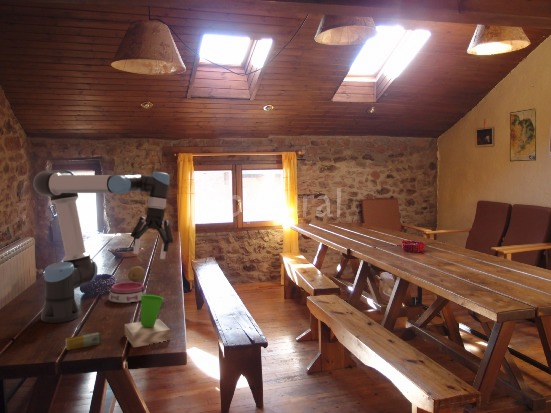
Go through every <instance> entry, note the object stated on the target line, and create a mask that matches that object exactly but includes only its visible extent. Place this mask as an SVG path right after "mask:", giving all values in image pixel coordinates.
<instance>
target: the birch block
mask: <svg viewBox="0 0 551 413" xmlns="http://www.w3.org/2000/svg"><path fill="white" fill-rule="evenodd" d="M125 335H126V336H125ZM124 336H125V338H126V337H127V338H128V339H127V338H126V339H127V340H128V342H129V343H130V345H131V347H133V348H137V347H138V348H139V347H145V346H149V344H150V345H154V344H153V343H155V344H159V342H161V343H164V342H163V341H166V342H168V341H167V340H170V341H171V329H170V328H169V326H167V324H165V323H164V322H163V321H162V320H161V319H160V318H157V319H156V322H155V325H154V326H153V327H147V326H142V325H141V321H136V322H130V323H124Z"/></svg>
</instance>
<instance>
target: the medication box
mask: <svg viewBox="0 0 551 413" xmlns="http://www.w3.org/2000/svg"><path fill="white" fill-rule="evenodd" d="M101 341H102V340H101V333H100V332H98V331H97V332H93V333H87V334H82V335H77V336H76V335H75V336H71V337H66V338H65V349H66V350H67V351H69V350H75V349H80V348H86V347H91V346H95V345H100V344H101Z"/></svg>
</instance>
